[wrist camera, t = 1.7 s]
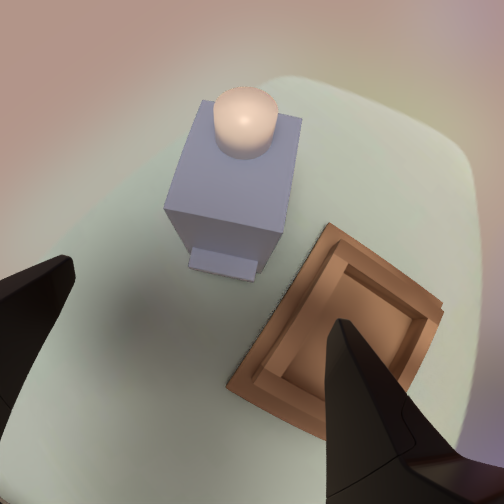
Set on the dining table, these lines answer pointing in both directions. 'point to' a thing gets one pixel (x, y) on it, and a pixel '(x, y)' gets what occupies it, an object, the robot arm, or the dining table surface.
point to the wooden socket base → (321, 322)
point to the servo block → (234, 183)
